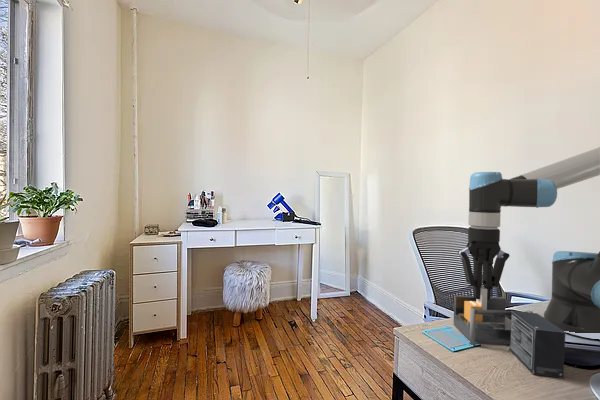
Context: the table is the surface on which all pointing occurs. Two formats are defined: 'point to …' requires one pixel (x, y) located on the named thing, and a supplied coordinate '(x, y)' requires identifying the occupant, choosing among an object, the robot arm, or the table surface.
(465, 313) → the orange cardboard carton
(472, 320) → the gray open frame
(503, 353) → the table surface
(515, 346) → the small box
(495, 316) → the dark gray open box
